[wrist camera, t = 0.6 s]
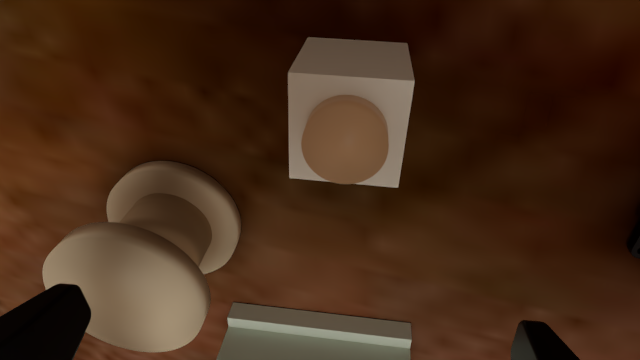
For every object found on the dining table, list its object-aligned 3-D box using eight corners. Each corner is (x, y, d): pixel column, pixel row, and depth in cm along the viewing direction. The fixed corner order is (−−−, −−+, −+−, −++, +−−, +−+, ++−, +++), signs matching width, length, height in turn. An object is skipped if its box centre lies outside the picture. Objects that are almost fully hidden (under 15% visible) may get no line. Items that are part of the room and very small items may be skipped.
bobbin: (236, 166, 21) (190, 247, 16) (245, 269, 25) (211, 360, 20) (102, 154, 22) (18, 229, 17) (131, 256, 25) (70, 342, 20)
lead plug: (407, 42, 17) (416, 92, 12) (394, 132, 19) (399, 203, 14) (308, 36, 17) (281, 83, 13) (306, 125, 19) (284, 193, 15)
